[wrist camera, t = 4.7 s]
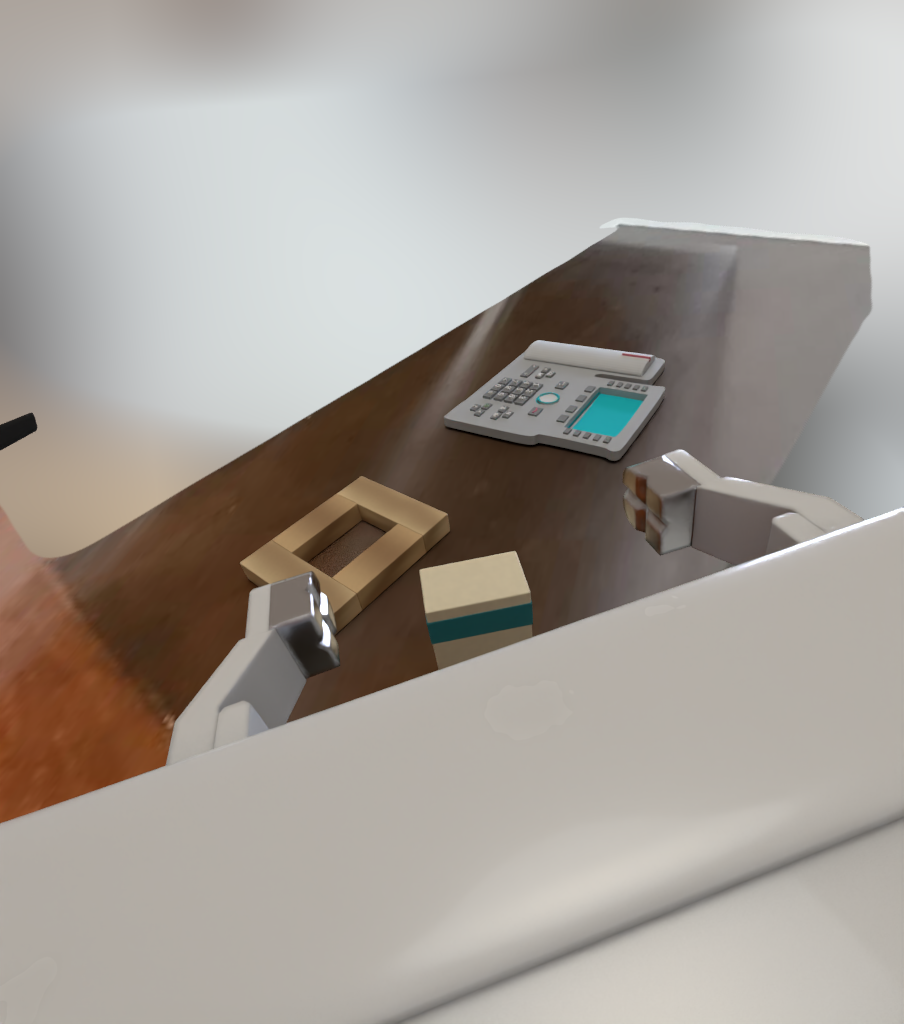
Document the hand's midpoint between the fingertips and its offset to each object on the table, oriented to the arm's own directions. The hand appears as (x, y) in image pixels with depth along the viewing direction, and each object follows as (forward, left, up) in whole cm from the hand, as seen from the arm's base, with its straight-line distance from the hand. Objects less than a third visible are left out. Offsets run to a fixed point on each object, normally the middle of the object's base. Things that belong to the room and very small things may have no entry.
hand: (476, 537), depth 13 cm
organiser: (-9, +25, -22) cm, 34 cm away
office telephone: (+17, +45, -22) cm, 53 cm away
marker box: (0, +10, -22) cm, 24 cm away
